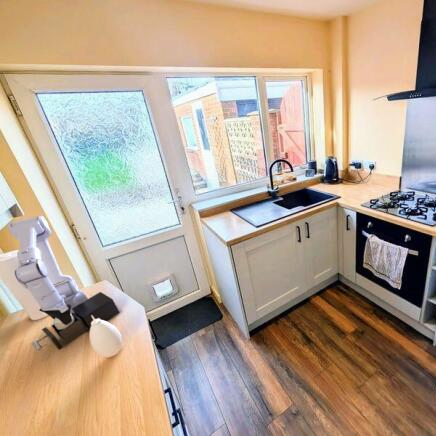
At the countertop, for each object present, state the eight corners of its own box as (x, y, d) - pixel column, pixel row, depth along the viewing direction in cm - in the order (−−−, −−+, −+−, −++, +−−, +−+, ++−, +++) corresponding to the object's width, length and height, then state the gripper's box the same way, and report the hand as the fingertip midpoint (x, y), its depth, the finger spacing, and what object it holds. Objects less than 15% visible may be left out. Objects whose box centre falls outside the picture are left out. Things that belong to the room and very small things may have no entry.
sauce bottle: (130, 351, 86) (108, 313, 78) (104, 368, 81) (78, 329, 73) (123, 339, 91) (102, 302, 83) (98, 354, 86) (74, 317, 78)
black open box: (44, 360, 85) (35, 348, 83) (35, 349, 90) (26, 338, 88) (89, 330, 96) (82, 319, 93) (78, 321, 100) (72, 311, 98)
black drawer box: (91, 331, 96) (82, 317, 93) (80, 322, 101) (71, 308, 98) (119, 312, 104) (112, 298, 101) (107, 304, 109) (100, 291, 106)
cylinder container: (26, 323, 104) (-18, 265, 91) (35, 309, 112) (-5, 254, 99) (54, 313, 108) (15, 256, 95) (61, 300, 115) (25, 246, 103)
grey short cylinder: (67, 317, 96) (63, 311, 95) (78, 318, 95) (74, 312, 93) (53, 328, 91) (48, 322, 90) (64, 330, 90) (59, 324, 89)
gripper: (69, 289, 87) (86, 317, 93) (48, 282, 93) (65, 309, 98) (45, 303, 81) (65, 332, 87) (24, 295, 87) (44, 322, 93)
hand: (64, 321), depth 92 cm, fingers closed on grey short cylinder, 5 cm apart
